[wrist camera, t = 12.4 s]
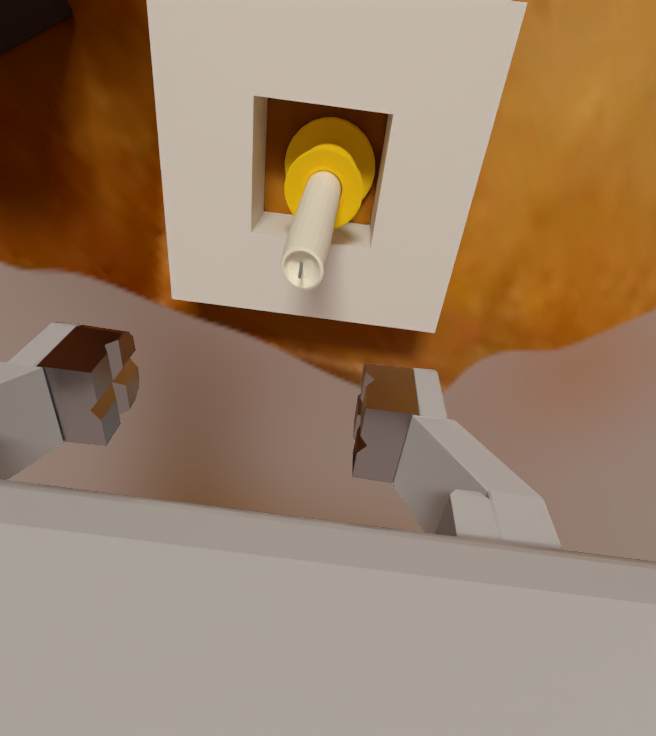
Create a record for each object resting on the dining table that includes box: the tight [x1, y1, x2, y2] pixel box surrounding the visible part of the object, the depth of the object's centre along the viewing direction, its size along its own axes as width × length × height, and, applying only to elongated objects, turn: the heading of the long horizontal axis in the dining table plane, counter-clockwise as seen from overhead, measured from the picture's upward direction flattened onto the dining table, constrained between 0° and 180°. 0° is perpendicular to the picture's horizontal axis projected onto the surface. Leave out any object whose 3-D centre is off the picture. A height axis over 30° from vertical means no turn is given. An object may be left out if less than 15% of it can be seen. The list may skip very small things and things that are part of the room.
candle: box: [281, 117, 375, 290], centre depth 21 cm, size 5×5×16 cm
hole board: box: [147, 0, 527, 333], centre depth 26 cm, size 16×16×4 cm
